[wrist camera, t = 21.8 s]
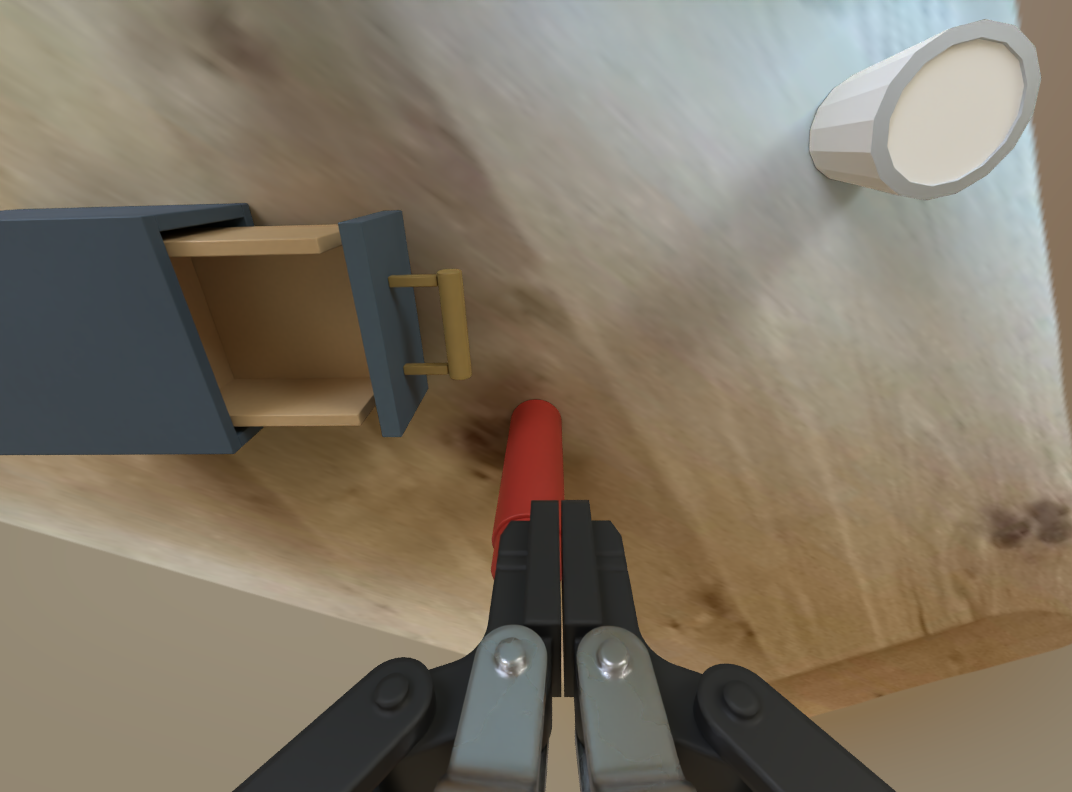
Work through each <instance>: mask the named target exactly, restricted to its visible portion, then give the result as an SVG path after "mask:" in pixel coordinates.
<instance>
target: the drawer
mask: <svg viewBox="0 0 1072 792" xmlns="http://www.w3.org/2000/svg"><path fill="white" fill-rule="evenodd" d="M160 234H161V237H162V239H163V242H164V245H165V247H166V250H167V253H168V255H169V258H170V260H171V263H172V266H173V268H174V271H175V274H176V276H177V279H178V281H179V284H180V287H181V289H182V292H183V295H184V297H185V300H186V302H187V305H188V308H189V310H190V313H191V316H192V318H193V321H194V323H195V326H196V329H197V331H198V334H199V337H200V339H201V342H202V344H203V347H204V350H205V352H206V355H207V358H208V360H209V363H210V365H211V368H212V371H213V373H214V376H215V379H216V381H217V384H218V386H219V389H220V392H221V394H222V397H223V400H224V402H225V405H226V407H227V410H228V413H229V415H230V418H231V421H232V423H233V426H234V427H242V426H360V425H361V424H362V423H363V421H364V420H365V419H366V417H367V416H368V415H369V413H370V412H371V411H372V409H373V408H374V406H375V405H376V408H377V412H378V417H379V422H380V426H381V431H382V436H383V437H402V435H403V433H404V431H405V430H406V428H407V426H408V424H409V422H410V421H411V419H412V417H413V415H414V413H415V412H416V410H417V408H418V406H419V404H420V403H421V401H422V399H423V397H424V395H425V394H426V392H427V390H428V383H427V376H426V375H447V374H449V376H450V378H451V379H453V380H464V379H467V378H470V377H471V375H472V371H471V361H470V351H469V340H468V330H467V320H466V310H465V300H464V290H463V280H462V271H461V270H459V269H444V270H440V271H438V272H437V274H423V275H411V269H410V262H409V256H408V249H407V242H406V235H405V229H404V222H403V215H402V211H401V210H393V211H381V212H377V213H373V214H370V215H366V216H362V217H358V218H355V219H351V220H347V221H343V222H340V223H338V224H334V225H294V226H255V227H215V228H179V229H173V230H167V231H161V232H160ZM437 286H438V287H439V295H440V304H441V312H442V320H443V328H444V336H445V344H446V352H447V360H448V363H424V356H423V350H422V343H421V336H420V329H419V323H418V316H417V309H416V303H415V296H414V289H413V287H437Z"/></svg>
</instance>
